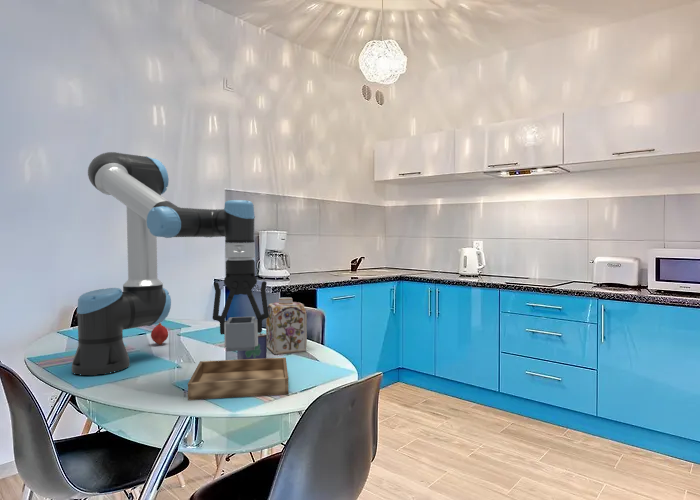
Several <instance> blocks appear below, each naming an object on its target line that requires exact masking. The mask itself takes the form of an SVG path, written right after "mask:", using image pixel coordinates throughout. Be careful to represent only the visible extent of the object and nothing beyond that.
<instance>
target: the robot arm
mask: <svg viewBox="0 0 700 500" xmlns="http://www.w3.org/2000/svg"><path fill="white" fill-rule="evenodd" d="M91 160H92V161H90V163H89V165H88V167H87V177H88V179H89V182H90V183H91V184H92V186H93V187H94V188H95V189H97V190H98V191H99V192H100V193H102V194H104V195H106V196H107V195H108V196H112V197H114V199H116V200H118V201H119V202H120V203H122V204H123V205H124V206H126V239H127V240H126V243H127V244H126V245H127V246H126V247H127V280H126V281H125V282H124V283H123V284H122V288H119V287H109V288H108V287H107V288H101V289H95V290H91V291H90V290H89V291H88V292H85V293H82V294H81V295H80V296H78V299H77V308H76V313H77V338H78V339H77V341H78V343H77V348H76V351H75V354H74V358H73V359H72V363H71V373H72V372H73V373H75V374H81V375H94V376H98V375H97V374H104V375H106V374H105V373H110V372H114V371H118V370H121V371H123V370H122V369H124V368H126V369H128V368H129V367H130V366H131V365H130V364H131V363H130V356H129V354H128V351H127V348H126V346H125V344H124V339H123V336H124V335H123V331H124V330H129V329H135V328H141V327H147V326H148V327H150V326H153V325H156V324H157V325H158V324H159V323H163V322H164V321H165V320H166V318H167V317H168V315H169V314H170V311H171V307H172V299H171V295H170V292H169V291H168V290H167V289H166V288H164V285H163V283H164V282H162V281H161V280H160V279H159V277H158V247H157V246H158V245H157V244H158V243H157V242H158V241H157V239H158V238H166V239H170V238H195V237H196V238H219V237H220V238H221V237H222V238H223V237H224V238H225V240H224V241H225V246H224V247H225V249H224V250H225V258H226V259H227V260H226V261H225V277H224V279H223V280H220V281H215V282H214V283H213V288H214V291H215V292H214V301H213V311H212V320H213V321H217V322H219V333H220V335H224V337H223V338H224V348H225V349H226V323H227V321H228V320H226V318H227V315H228V313H229V310H230V307H231V304H232V302H233V299H234V296H238V295H244V296H245V295H246V296H247V298H248V301H249V304H250V305H251V308H252V311H253V312H254V315H255V346H258V333H261V334H262V332H263V320H266V318H268V317H269V313H268V305H269V304H268V298H267V292H266V288H267V283H268V282H267V281H266V280H262V279H261V280H260V279H257V277H256V261H255V260H254V258H255V257H256V255H255V254H256V249H255V246H256V244H255V243H256V242H255V217H256V216H255V207H254V203H253V202H252V201H250V200H247V199H246V200H245V199H243V200H242V199H233V200H232V199H231V200H226V201H225V203H224V207H223V208H221V209H218V208H217V209H213V208H211V209H209V208H208V209H207V208H190V207H189V208H188V207H180V206H178V205H176V204H174V203H172V202H171V201H169V200H168V199H167V198H165V197H163V196H162V195H163V194H165V192H166V191H167V190H168V187H169V181H170V180H169V174H168V171H167V168H166V166H165V164H163V162H162V161H161V160H159V159H157V158H152V157H149V156H144V155H142V156H141V155H137V154H128V153H121V152H114V151H109V152H108V151H107V152H103V153H101V154H99V155H97V156H95V157H94V158H93V159H91ZM256 285H257V286H258V287H257V288H258V289H260V295H261V303H262V311H263V313H261V311H260V309H259V306H258V303H257V301H256V298H255V297H254V293H253V291H252V290H253V289H254V287H255V286H256ZM224 286H225V287H226V288H227V289H228V290H229V294H228V296H227V299H226V301H225V304H224V307H223V310H222V313H221V315H219V314H220V313H219V312H220V304H221V296H222V290H223V289H224ZM128 366H129V367H128ZM127 367H128V368H127ZM124 370H125V369H124ZM118 372H119V371H118ZM73 373H72V374H73ZM114 373H115V372H114ZM75 374H74V375H75ZM110 374H111V373H110ZM81 375H80V376H81Z"/></svg>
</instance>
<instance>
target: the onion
mask: <svg viewBox="0 0 700 500" xmlns="http://www.w3.org/2000/svg"><path fill="white" fill-rule="evenodd" d="M150 338H151V340H152V341H153V342H154V343H155V344H157V345H159V346H160V345H162V344H163V343H164V342H166V340H168V338H169V331H168V329H167V327H166V326H164V325H163V324H162V322H160V323H157V325H155V327H154V328H153V329H152V330H151V333H150Z"/></svg>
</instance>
